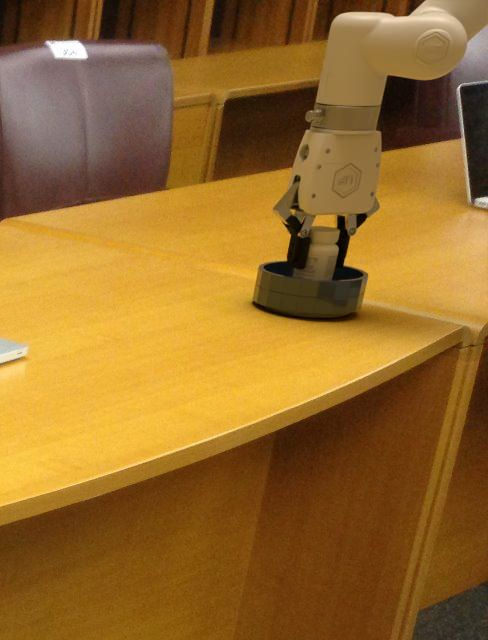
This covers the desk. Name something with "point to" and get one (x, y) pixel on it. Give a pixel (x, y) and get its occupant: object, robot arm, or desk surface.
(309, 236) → the pill bottle
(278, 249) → the desk surface
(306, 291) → the bowl
